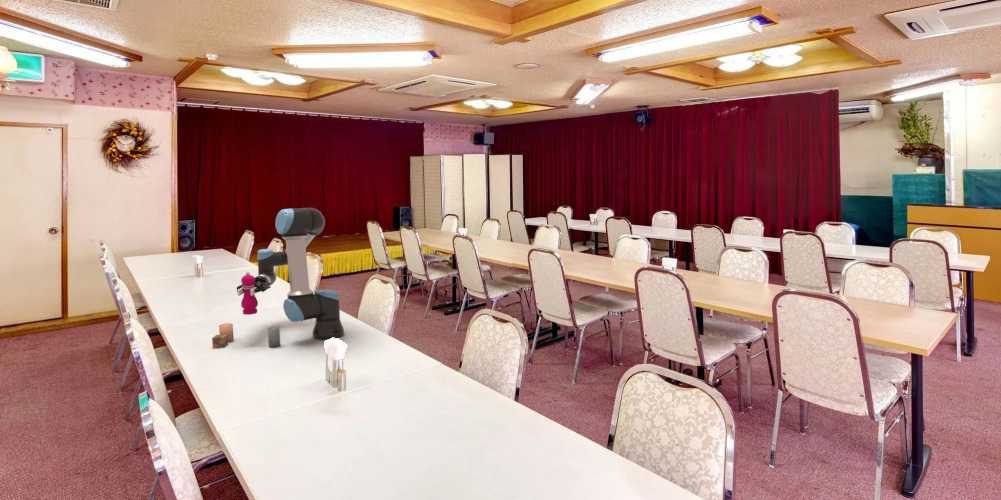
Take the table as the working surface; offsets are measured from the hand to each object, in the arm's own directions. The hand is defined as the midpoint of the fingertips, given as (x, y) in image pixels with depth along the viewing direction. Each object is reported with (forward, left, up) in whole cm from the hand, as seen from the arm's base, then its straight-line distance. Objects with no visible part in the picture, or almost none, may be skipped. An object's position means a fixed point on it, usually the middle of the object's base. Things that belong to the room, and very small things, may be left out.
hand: (244, 292), depth 249 cm
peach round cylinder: (+13, -10, -26) cm, 31 cm away
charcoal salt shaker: (-12, 0, -26) cm, 29 cm away
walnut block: (+13, -2, -26) cm, 29 cm away
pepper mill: (0, -5, -11) cm, 12 cm away
